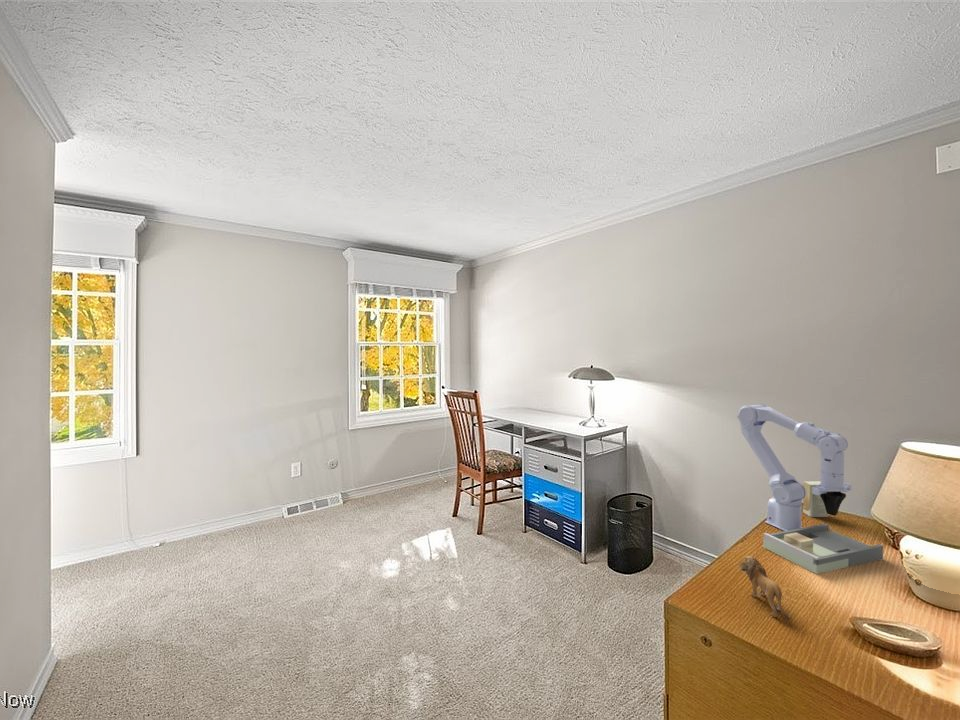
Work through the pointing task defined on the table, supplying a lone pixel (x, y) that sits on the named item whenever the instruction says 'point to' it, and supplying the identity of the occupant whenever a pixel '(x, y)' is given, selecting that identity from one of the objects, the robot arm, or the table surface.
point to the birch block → (799, 541)
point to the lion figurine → (762, 583)
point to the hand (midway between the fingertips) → (831, 514)
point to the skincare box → (813, 501)
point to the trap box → (823, 549)
